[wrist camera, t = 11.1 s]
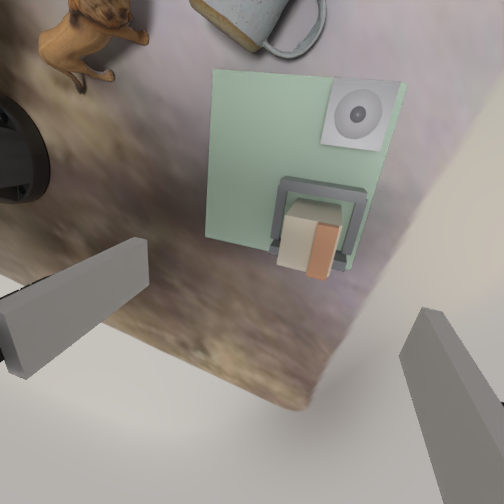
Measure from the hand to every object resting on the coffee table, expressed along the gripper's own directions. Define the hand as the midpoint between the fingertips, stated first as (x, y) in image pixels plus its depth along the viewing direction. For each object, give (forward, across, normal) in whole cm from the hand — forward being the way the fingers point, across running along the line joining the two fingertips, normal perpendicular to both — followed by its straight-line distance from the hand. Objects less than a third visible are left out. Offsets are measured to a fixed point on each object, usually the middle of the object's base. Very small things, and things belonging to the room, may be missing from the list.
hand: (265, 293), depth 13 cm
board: (+19, -2, +3) cm, 20 cm away
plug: (+18, +2, -1) cm, 18 cm away
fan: (+18, +3, +9) cm, 20 cm away
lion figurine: (+20, -24, +14) cm, 34 cm away
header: (+18, +2, -1) cm, 18 cm away
